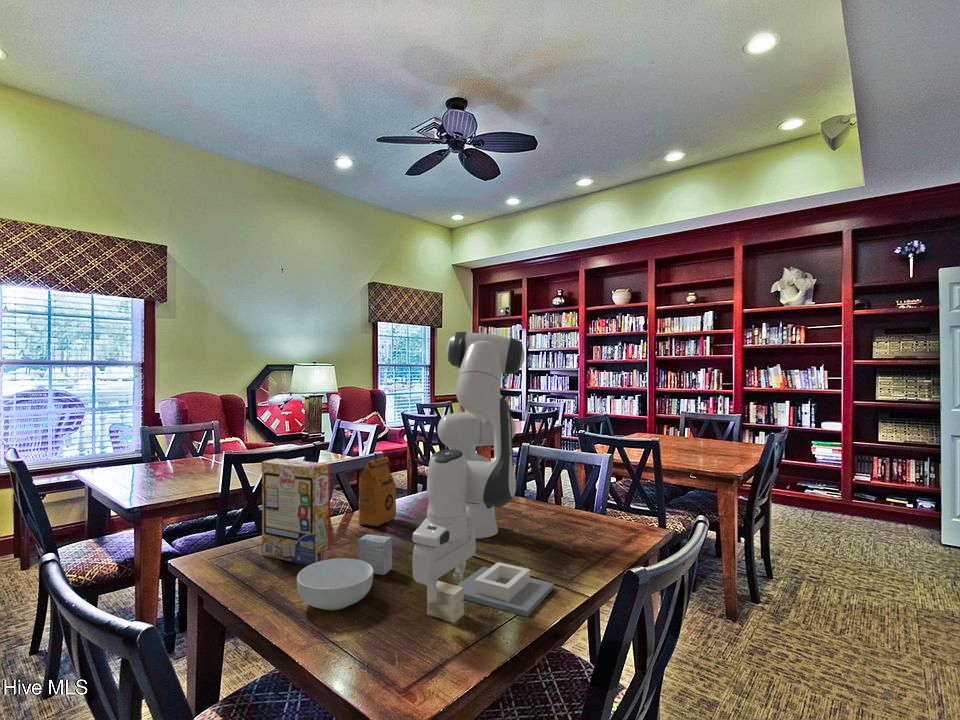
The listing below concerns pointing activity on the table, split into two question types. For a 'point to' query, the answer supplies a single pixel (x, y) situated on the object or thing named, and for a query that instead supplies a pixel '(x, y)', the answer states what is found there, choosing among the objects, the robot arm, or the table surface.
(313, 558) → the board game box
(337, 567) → the cereal bowl
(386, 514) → the coffee package
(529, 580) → the cradle
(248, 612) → the table surface
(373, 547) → the medicine box
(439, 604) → the key block
